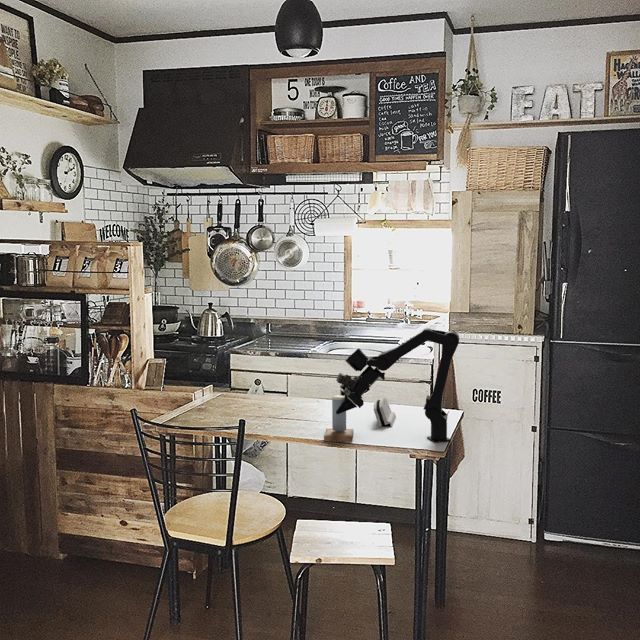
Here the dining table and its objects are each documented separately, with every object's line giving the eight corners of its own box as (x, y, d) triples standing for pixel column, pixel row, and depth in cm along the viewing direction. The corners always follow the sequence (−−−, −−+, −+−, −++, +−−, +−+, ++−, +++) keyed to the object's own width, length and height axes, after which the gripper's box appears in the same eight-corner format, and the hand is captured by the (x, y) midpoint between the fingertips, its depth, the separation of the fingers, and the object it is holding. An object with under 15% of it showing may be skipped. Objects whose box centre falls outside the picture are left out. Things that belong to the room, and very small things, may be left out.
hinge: (392, 427, 295) (383, 402, 294) (380, 430, 296) (371, 406, 295) (396, 416, 311) (387, 393, 311) (385, 420, 312) (376, 397, 312)
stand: (353, 434, 284) (353, 428, 284) (352, 441, 274) (352, 435, 274) (326, 433, 285) (326, 428, 285) (324, 441, 275) (324, 435, 275)
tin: (349, 429, 279) (348, 397, 277) (337, 431, 276) (337, 399, 275) (341, 426, 283) (341, 394, 282) (329, 428, 280) (329, 396, 279)
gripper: (345, 361, 287) (316, 391, 286) (354, 370, 268) (323, 402, 268) (366, 381, 288) (337, 411, 288) (376, 391, 270) (345, 423, 270)
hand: (335, 411), depth 279 cm, fingers closed on tin, 5 cm apart
